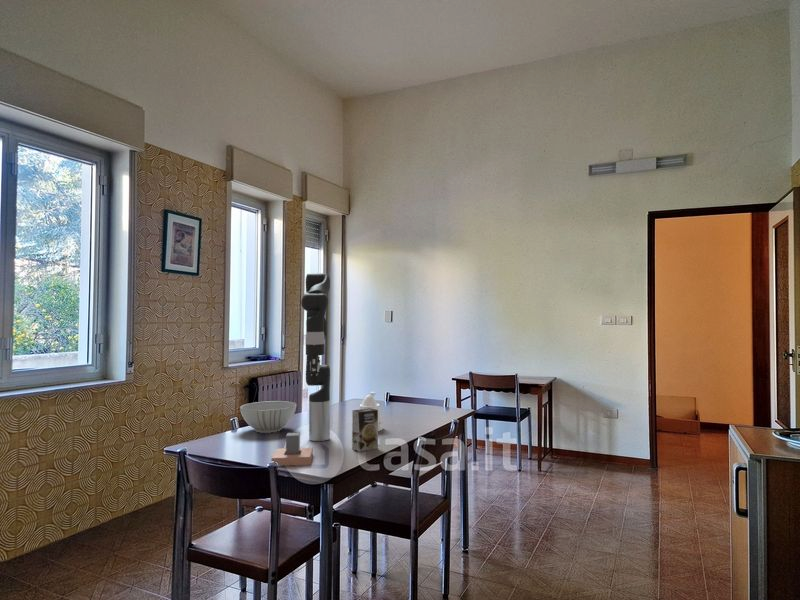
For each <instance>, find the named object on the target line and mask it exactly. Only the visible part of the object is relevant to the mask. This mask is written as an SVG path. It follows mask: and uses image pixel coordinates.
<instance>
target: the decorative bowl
mask: <svg viewBox="0 0 800 600" xmlns="http://www.w3.org/2000/svg"><path fill="white" fill-rule="evenodd" d="M296 409H297V403H296V402H293V401H285V400H283V401H282V400H270V401H267V400H266V401H258V402H257V401H255V402H251V403H250V402H249V403H246V404H242V405H241V406H239V411H240V414H241V416H242V418H243V420H244V421H245V422H246V424H247V425H248V426H249V427H251V428H252V429H254V430H255V432H256V433H258V432H260V433H259V434H271V432H273V433H278V432H280V430H281V431H282V429H283V427H285V426H286V425H287V424H288V423H289V422H290V421H291V420H292V419H293V417H294V414H295V412H296ZM277 431H278V432H277Z"/></svg>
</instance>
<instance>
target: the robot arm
mask: <svg viewBox="0 0 800 600" xmlns="http://www.w3.org/2000/svg"><path fill="white" fill-rule="evenodd" d="M330 289H331V278H330V275H329V274H328V273H325V272H320V273H319V272H316V273H315V272H312V273H310V272H309V273H306V276H305V293H304V294H303V296H302V298H301V302H300V303H301V308H302V309H303V310H304V311H306V320H305V323H306V324H305V326H306V328H305V329H306V330H305V332H306V333H305V356H306V359H305V361H306V362H305V366H306V367H305V383H306V385H307V386H322V388H320V389H319V390H317V391H315V392H312V393H310V394H309V395H308V407H309V408H308V412H309V413H308V417H309V418H308V421H309V422H308V423H309V424H308V425H309V426H308V431H309V433H308V439H309V441H313V442H324V441H325V442H326V441H328V440H330V439H331V398H330V397H331V396H330V385H331V384H330V383H331V369H330V366H329V365H328V364H321V359H320V356H324V355H325V350H326V349H325V344H326V343H325V342H326V341H325V340H326V339H327V335H328V331H327V330H328V327H327V325H328V323H327V319H326V317H325V316H326V312H327V309H328V305H329V298H328V296H327V294H328V293H329V291H330Z"/></svg>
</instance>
